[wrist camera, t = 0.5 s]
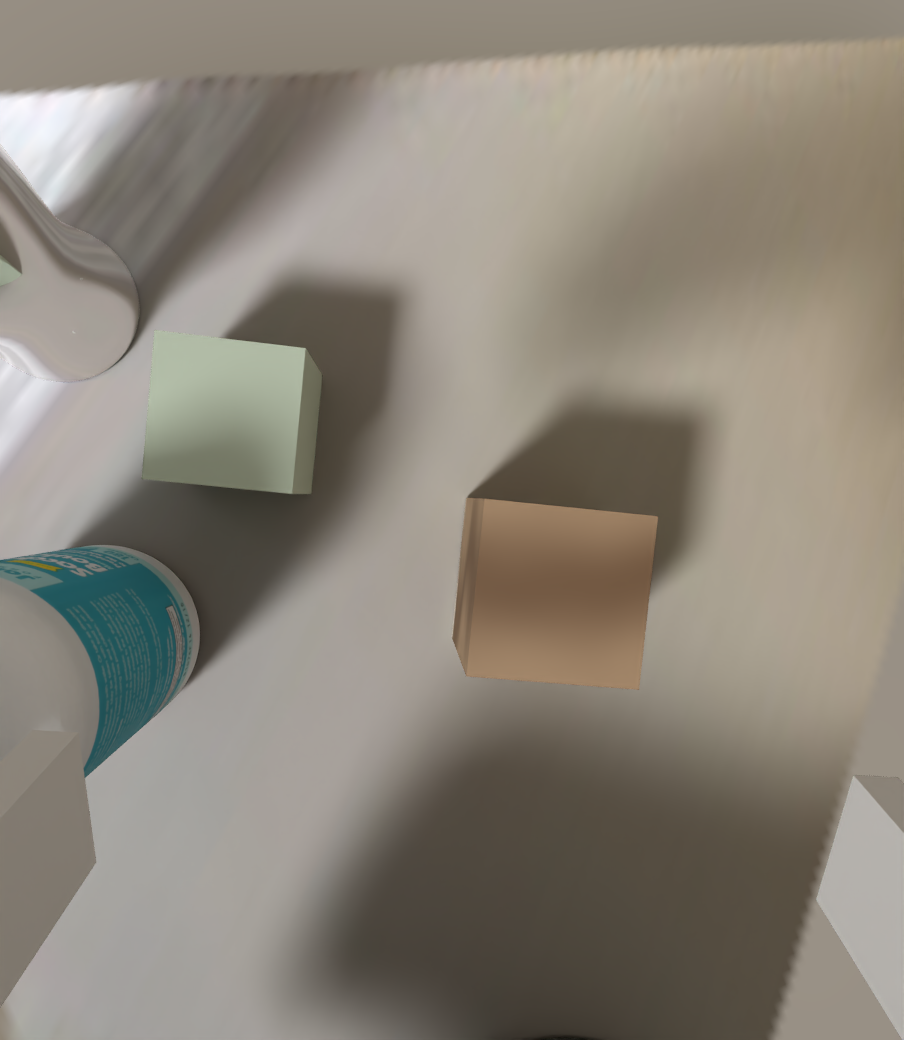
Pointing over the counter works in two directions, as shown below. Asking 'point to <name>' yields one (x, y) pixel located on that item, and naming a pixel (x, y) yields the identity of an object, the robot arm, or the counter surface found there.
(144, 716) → the pill bottle
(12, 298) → the beer glass
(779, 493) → the counter surface
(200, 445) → the sage block
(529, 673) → the walnut block
